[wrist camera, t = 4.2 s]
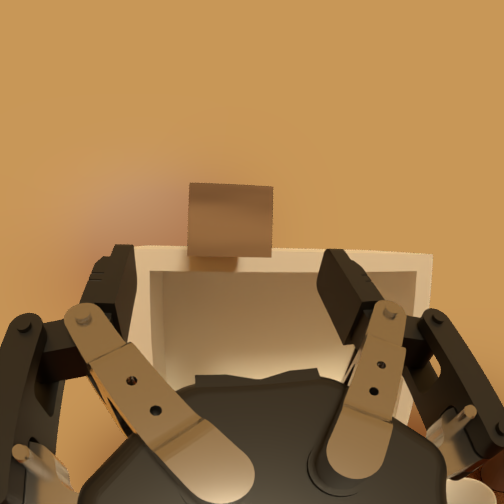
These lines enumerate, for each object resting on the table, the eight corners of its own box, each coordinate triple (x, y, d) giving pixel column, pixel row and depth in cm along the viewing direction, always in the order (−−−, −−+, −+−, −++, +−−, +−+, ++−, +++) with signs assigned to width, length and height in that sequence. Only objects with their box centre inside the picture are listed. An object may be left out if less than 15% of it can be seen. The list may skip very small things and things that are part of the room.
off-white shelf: (378, 509, 27) (432, 254, 26) (162, 541, 22) (122, 248, 21) (341, 462, 38) (368, 250, 37) (164, 479, 33) (146, 245, 32)
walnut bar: (271, 257, 13) (273, 186, 13) (187, 256, 13) (189, 182, 13) (221, 246, 35) (222, 219, 35) (190, 246, 34) (190, 218, 34)
